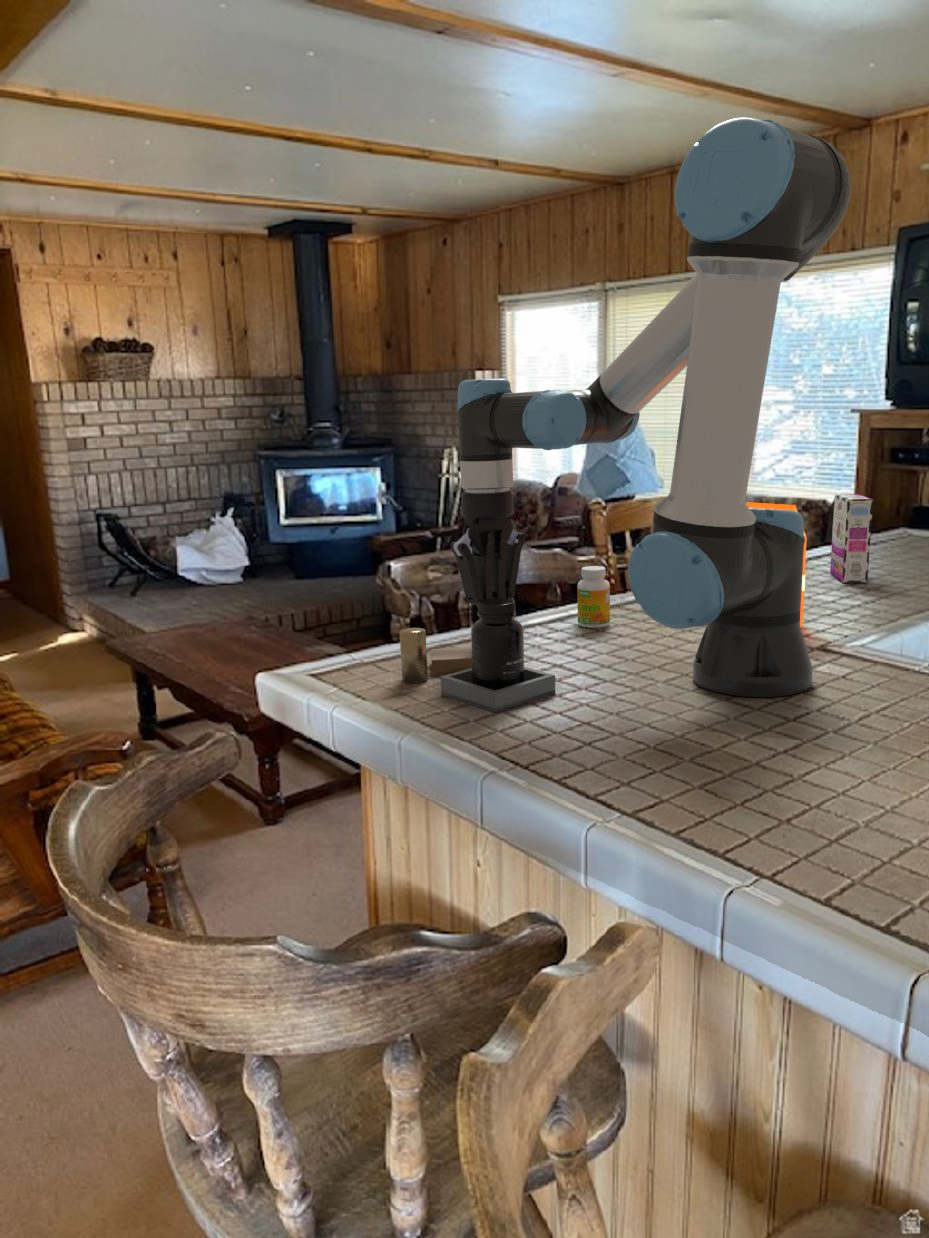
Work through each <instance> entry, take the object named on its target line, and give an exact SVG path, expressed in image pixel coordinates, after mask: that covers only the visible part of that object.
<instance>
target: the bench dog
mask: <svg viewBox="0 0 929 1238" xmlns="http://www.w3.org/2000/svg"><path fill="white" fill-rule="evenodd" d="M426 633H427V632H426V629H425V628H421V627H407V628H404V629H401V630H399V647H400V664H401V681H402V682H403V683H405V684H420V683H425V682H427V681H428V680H429V675H428V674H429V671H428V653H427V652H428V651H427V634H426Z"/></svg>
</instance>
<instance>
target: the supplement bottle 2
mask: <svg viewBox="0 0 929 1238" xmlns="http://www.w3.org/2000/svg"><path fill="white" fill-rule="evenodd" d="M606 571H607V570H606V567H604V566H598V565H591V566H590V565H589V566H588V565H587V566H583V567H581V573H580V574H581V578H582V579H581V580H579V581H578V583H577V586H576V587H577V591H576V592H577V625H578V626H579V627H581V626H582V628H585V627H587V628H586V629H600V628H601V627H602V628H607V627H608V626H610V623H611V585H610V582H609V581H608V580H606V579H605V577H606V574H607V573H606ZM602 628H601V629H602Z"/></svg>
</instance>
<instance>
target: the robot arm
mask: <svg viewBox="0 0 929 1238" xmlns="http://www.w3.org/2000/svg"><path fill="white" fill-rule="evenodd" d="M681 163H682V164H681V166H680V168H679V171H678V173H677V177H676V182H675V187H674V207H675V211H676V214H677V217H678V218H679V219H680V220H681V224H682V226H683V227H684V229H685V230H686V231H687V232H688V233H689V241H688V242H689V243H688V250H687V256H686V257H687V258H686V260H687V262H688V263H689V265H690V266H691V267H692V269H693V270H694V272H695V275H693V276H692V277H691V279H690V280H689V281H688V282H687V283H686V284H685V285H684V287H682V289H680V290H679V292H678V293H676V295H675V296H674V297H672V299H671V300H670V301H669V302H668V303H667V304H666V305H665V306H664V307H663V309H662V310H660V312H659V313H657V315H656V316H655V317H653V319H652V320H651V321H650V323H648V324H647V326H646V327H645V328H644V329H643V330H642V331H640V333H639V334H638V335H637V336H636V337H635V338H634V339H633V340H632V341H631V342H630V343H629V345H627V346H626V348H624V350H623V351H622V352H621V353H620V354H619V355H618V356H617V357H616V358H615V359H614V360H613V362H611V363H610V364H609V365H608V367H607V368H606V369H605V370H604V371H603V372H602V373H600V375H599V376H598V377H597V378H596V379H595V380H594V381H593V382H592V383H591V384H590V385H589V386H588V387H587V388H585V389H571V390H560V389H554V390H551V389H548V390H547V389H545V390H539V391H524V392H522V391H521V392H513V391H512V390H511V389H512V387H511V382H510V381H509V379H507V378H480V379H464V380H462V381H461V382H460V383H459V385H458V388H457V389H458V390H457V409H456V414H457V421H458V422H457V424H458V441H459V444H458V445H459V466H460V468H459V470H460V487H461V488H462V489H463V490H464V489H465V491H463V492H462V493H461V497H460V498H461V515H462V517H463V519H464V527H463V529H462V534H463V535H462V536H461V537H460V538H459V539H458V540H457V541H452V542H451V543H450V544H449V548H450V550H451V552H452V554H453V555H454V557H455V560H456V562H457V567H458V571H459V575H460V579H461V584H462V588H463V592H464V595H465V599H466V603H467V604H470V605H474V606H477V608H478V602H479V601H480V600H483V599H490V598H507V599H512V600H513V598H515V594H516V586H517V580H518V574H519V567H520V560H521V553H522V549H523V546H524V544H525V542H526V540H527V534H525V533H523V532H518V531H517V530H515V529H514V524H513V521H512V519H511V518H512V516H514V513H515V509H514V508H515V505H514V504H515V502H514V500H515V499H514V495H515V494H514V492H513V490H512V489H510V488H512V487H513V486H514V471H513V470H514V469H513V468H514V465H513V464H514V463H513V449H515V448H516V449H535V450H536V449H537V450H538V449H539V450H542V449H543V450H545V451H551V450H561V449H562V450H563V449H568V448H571V447H574V446H577V445H578V446H579V445H589V444H611V443H614V442H617V441H622V440H625V439H626V438H628V437H630V436H631V435H632V434H633V432H635V430H636V429H637V425H638V423H639V420H640V416H641V415H640V412H641V410H643V409H644V408H645V407H646V406H647V405H648V404H649V403H650V402H651V401H652V400H653V399H654V398H655V397H656V396H657V395H658V394H660V393H661V391H663V390H664V389H665V388H666V387H667V386H668V385H669V383H671V382H672V381H673V380H675V378H676V377H677V376H678V375H679V374H680V373H681V372H683V370H685V368H686V371H685V379H684V387H683V393H682V402H681V408H680V416H679V424H678V430H677V431H678V432H677V440H676V446H675V453H674V454H675V455H674V459H673V468H672V476H671V484H670V490H669V493H668V495H667V496H666V497H665V498H664V499H662V500H661V501H659V502H658V503H657V504H655V507H654V509H653V517H652V525H651V532H650V533H649V534H647V535H645V537H643V538H642V540H641V541H640V542H638V544H636V545H635V546H634V548H633V550H632V551H631V554H630V556H629V561H628V564H627V565H628V566H627V574H628V575H627V576H628V583H629V587H630V590H631V592H632V595H633V598H634V600H635V601H636V602H638V603H639V605H640V606H641V610H642V611H643V612H644V613H645V614H646V616H648V617H649V618H650V619H651V620H653V621H654V622H656V623H658V624H659V625H661V626H664V627H667V628H670V629H675V630H676V629H677V630H683V629H684V630H686V629H691V628H699V627H704V626H705V629H704V632H703V634H702V636H701V640H700V642H699V645H698V648H697V651H696V654H695V657H694V660H693V663H692V680H693V682H694V683H695V684H696V685H699V686H700V687H702V688H704V689H706V690H708V691H712V692H716V693H720V694H725V695H731V696H737V697H738V696H740V697H750V698H751V697H752V698H775V697H784V696H790V695H795V694H798V693H802V692H804V691H806V690H808V689H810V688H811V687H812V684H813V665H812V662H811V658H810V655H809V651H808V648H807V644H806V641H805V638H804V634H803V631H802V627H800V614H801V595H802V574H803V554H804V543H805V536H804V532H805V529H804V528H805V524H804V523H805V522H804V517H803V516H802V514H801V513H800V512H798V510H797V511H793V510H780V509H763V508H749V507H748V506H747V505H746V504H747V501H746V500H747V499H746V498H747V494H748V493H747V492H748V486H749V480H750V474H751V467H752V462H753V455H754V450H755V444H756V443H755V441H756V438H757V430H758V423H759V417H760V412H761V406H762V400H763V394H764V388H765V382H766V376H767V375H766V374H767V369H768V363H769V356H770V351H771V344H772V339H773V331H774V326H775V320H776V313H777V309H778V308H777V306H778V301H779V296H780V295H779V294H780V290H781V284H782V283H787V282H789V280H791V278H793V277H794V276H795V275H796V274H797V273H798V272H799V271H801V269H802V268H804V266H806V265H807V264H808V263H809V262H810V261H811V260H812V258H814V256H815V255H817V254H818V253H819V251H820V250H821V249H822V248H823V247H824V246H825V245H826V244H827V242H828V241H830V239H831V238H832V236H833V235H834V234H835V233H836V231H837V229H838V228H839V227H840V224H841V223H842V221H843V219H844V217H845V215H846V213H847V209H848V205H849V204H850V199H851V189H852V183H851V175H850V171H849V167H848V164H847V163H846V161H845V158H844V157H843V155H842V154H841V152H840V151H839V150H838V148H836V147H835V146H834V145H832V143H830V142H828V141H826V140H825V139H823V138H822V137H821V138H820V137H818V136H816V135H812V134H807V133H802V132H800V131H797V130H795V129H792V128H789V127H787V126H783V125H781V124H780V123H778V122H776V121H774V120H772V119H771V120H770V119H757V118H752V117H736V118H732V119H728V120H726V121H722V122H720V123H718V124H717V125H715V126H713V127H712V128H710V129H708V131H707V132H705V133H704V135H702V136H701V138H700V139H699V141H697V142H696V143H695V144H693V146H692V147H691V148H690V149H689V151H688V153H687V154H686V156H685V158H684V160H683V161H682V162H681ZM478 620H480V617H479V616H478Z"/></svg>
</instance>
